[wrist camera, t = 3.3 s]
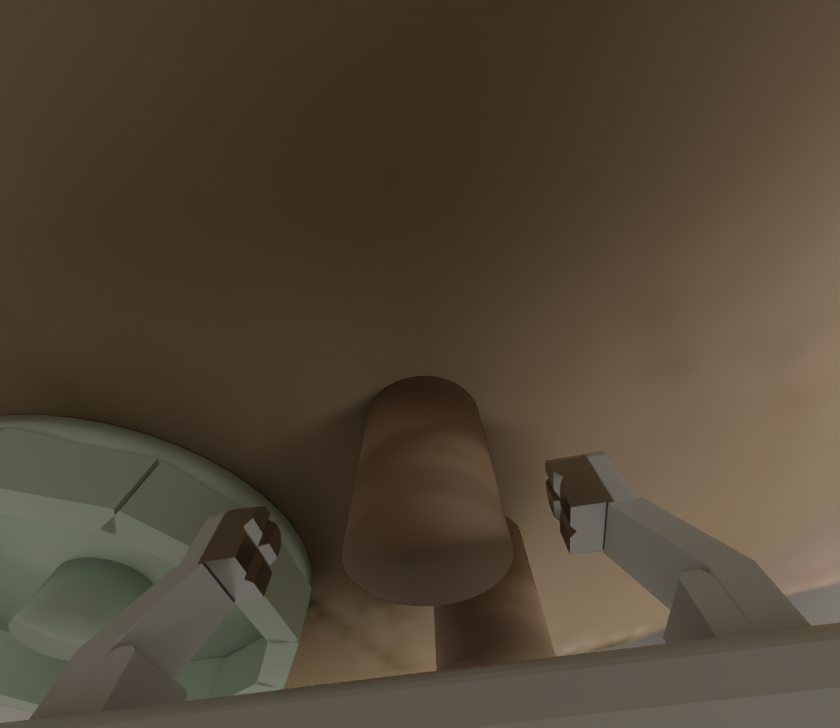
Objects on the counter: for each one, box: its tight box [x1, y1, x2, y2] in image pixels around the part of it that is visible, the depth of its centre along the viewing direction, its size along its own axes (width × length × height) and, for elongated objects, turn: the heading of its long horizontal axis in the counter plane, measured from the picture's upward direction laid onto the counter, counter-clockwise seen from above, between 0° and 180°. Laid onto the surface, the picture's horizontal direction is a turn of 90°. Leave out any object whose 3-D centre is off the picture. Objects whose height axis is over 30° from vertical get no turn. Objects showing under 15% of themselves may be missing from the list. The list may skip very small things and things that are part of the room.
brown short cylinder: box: [434, 516, 556, 671], centre depth 14 cm, size 4×4×5 cm
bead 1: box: [342, 376, 514, 606], centre depth 11 cm, size 4×4×5 cm
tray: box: [0, 414, 312, 713], centre depth 15 cm, size 17×17×3 cm
